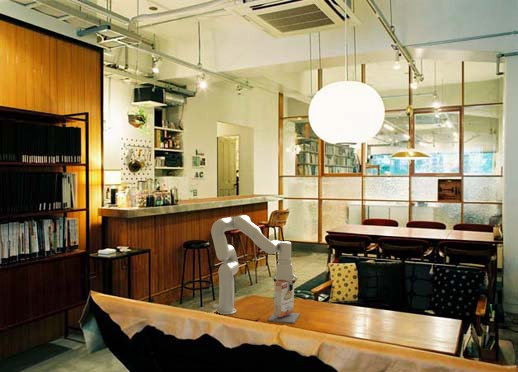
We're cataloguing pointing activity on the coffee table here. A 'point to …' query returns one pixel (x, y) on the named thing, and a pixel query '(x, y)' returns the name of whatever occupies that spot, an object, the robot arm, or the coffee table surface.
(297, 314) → the slate mat
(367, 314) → the coffee table surface
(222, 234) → the robot arm
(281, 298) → the cracker box
